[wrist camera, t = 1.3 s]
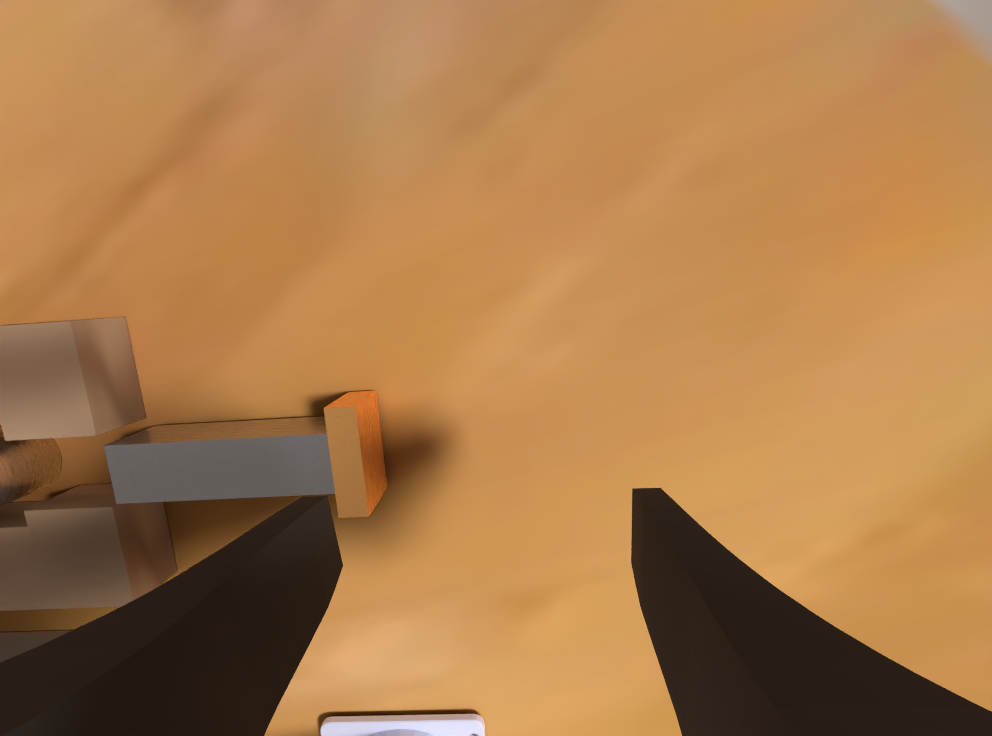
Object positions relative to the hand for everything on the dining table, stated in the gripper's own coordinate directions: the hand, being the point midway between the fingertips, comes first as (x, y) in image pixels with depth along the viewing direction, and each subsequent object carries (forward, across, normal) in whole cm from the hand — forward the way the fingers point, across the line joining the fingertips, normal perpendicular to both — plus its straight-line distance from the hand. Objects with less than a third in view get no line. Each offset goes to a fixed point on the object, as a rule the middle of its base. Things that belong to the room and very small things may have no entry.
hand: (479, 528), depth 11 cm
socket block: (+8, +22, +2) cm, 24 cm away
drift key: (+9, +10, +2) cm, 14 cm away
